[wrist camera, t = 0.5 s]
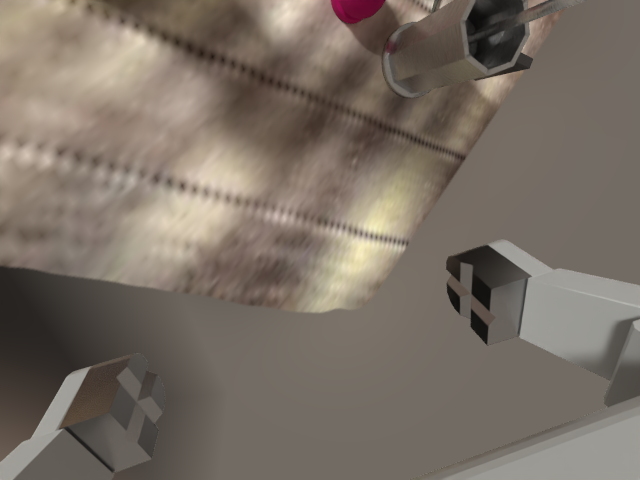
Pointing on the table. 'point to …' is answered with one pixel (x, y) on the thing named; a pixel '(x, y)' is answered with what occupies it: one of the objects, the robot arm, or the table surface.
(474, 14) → the press
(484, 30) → the plunger
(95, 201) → the table surface
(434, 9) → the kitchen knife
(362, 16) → the pepper mill
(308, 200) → the table surface
